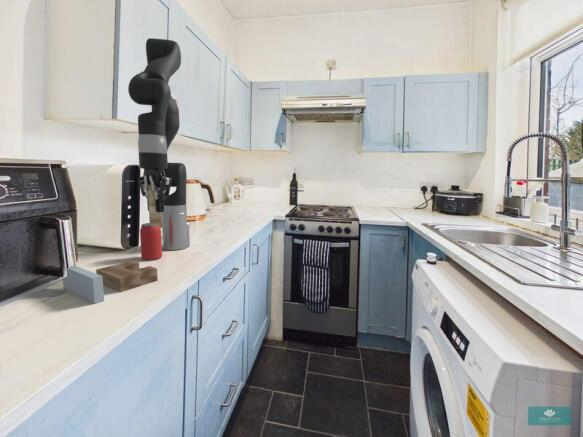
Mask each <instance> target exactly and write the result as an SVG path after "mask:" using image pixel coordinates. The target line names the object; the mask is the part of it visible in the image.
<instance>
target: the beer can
mask: <svg viewBox="0 0 583 437" xmlns="http://www.w3.org/2000/svg"><path fill="white" fill-rule="evenodd" d="M140 226H141V227H140V230H139V237H140V238H139V239H140V254H141V256H140V257H141V259H142V260H143V261H157V260H160V259H161V258H162V257H163V239H162V227H161V226H150V222H147V223H142V224H141V225H140Z"/></svg>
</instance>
